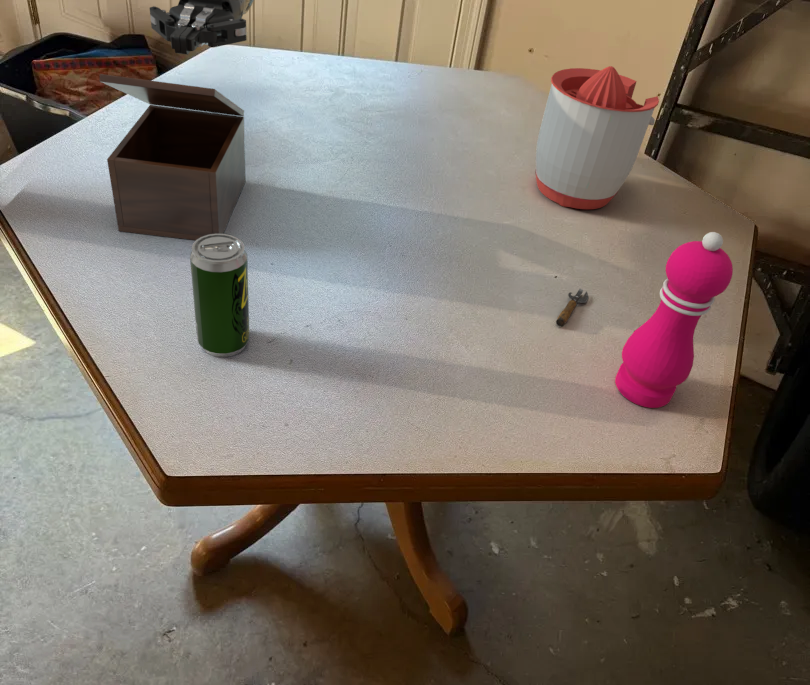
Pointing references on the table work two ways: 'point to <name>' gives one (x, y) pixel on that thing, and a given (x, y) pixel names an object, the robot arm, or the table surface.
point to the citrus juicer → (589, 136)
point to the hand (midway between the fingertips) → (180, 45)
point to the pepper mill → (674, 323)
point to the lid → (174, 95)
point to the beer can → (220, 294)
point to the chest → (178, 173)
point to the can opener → (571, 307)
